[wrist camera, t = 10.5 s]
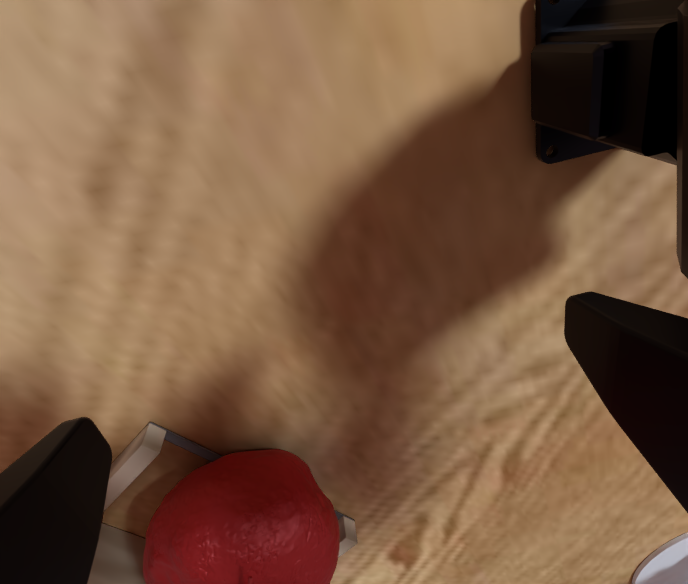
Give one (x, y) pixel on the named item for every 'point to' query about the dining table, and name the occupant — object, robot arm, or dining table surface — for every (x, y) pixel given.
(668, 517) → the dining table surface
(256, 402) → the dining table surface
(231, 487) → the pomegranate
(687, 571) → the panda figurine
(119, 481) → the cradle
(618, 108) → the robot arm
